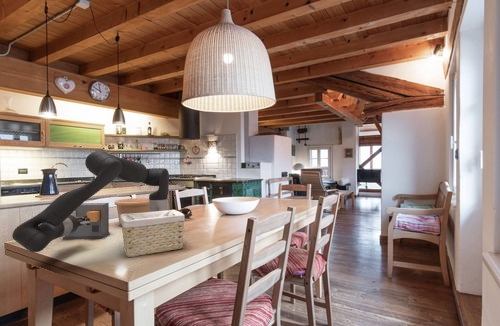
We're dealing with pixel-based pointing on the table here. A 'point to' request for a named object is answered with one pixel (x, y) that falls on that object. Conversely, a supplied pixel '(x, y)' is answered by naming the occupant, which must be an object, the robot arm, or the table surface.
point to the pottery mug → (186, 212)
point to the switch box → (95, 228)
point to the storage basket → (152, 232)
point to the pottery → (132, 206)
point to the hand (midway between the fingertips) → (85, 218)
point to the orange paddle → (94, 215)
